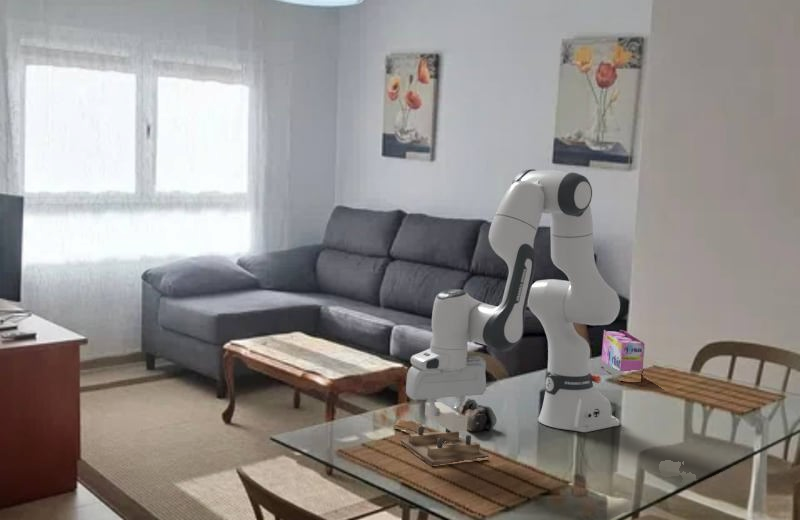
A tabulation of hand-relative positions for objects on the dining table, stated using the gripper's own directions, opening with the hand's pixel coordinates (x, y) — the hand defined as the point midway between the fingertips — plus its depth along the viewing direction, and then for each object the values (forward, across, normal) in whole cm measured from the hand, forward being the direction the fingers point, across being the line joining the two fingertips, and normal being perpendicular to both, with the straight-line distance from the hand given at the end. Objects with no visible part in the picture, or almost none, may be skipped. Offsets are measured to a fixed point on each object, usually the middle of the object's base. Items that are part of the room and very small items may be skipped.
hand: (445, 414), depth 209 cm
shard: (+10, -1, -18) cm, 21 cm away
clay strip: (+2, 0, 0) cm, 2 cm away
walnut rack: (+9, 0, 0) cm, 9 cm away
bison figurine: (+10, -16, -15) cm, 24 cm away
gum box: (+9, -98, -55) cm, 113 cm away
